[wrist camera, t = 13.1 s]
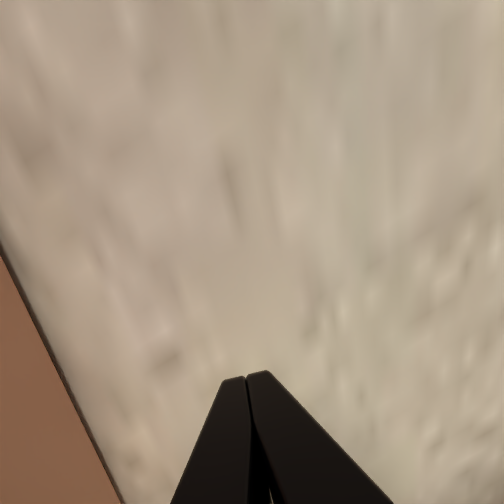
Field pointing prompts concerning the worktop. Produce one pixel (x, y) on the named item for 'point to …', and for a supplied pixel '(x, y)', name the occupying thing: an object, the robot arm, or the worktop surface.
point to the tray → (40, 420)
